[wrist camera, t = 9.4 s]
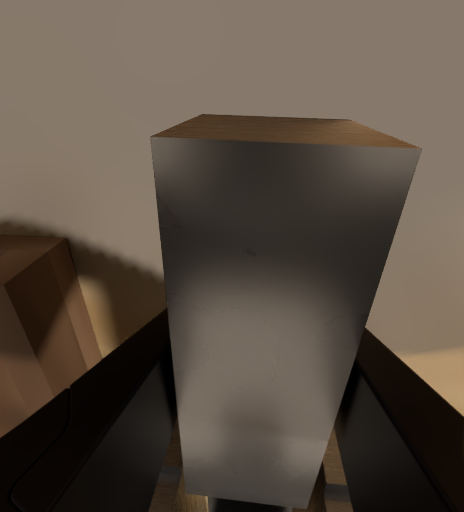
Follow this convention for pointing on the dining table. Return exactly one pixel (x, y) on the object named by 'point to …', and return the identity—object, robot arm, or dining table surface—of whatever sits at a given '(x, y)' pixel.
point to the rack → (40, 326)
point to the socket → (194, 506)
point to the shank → (270, 287)
